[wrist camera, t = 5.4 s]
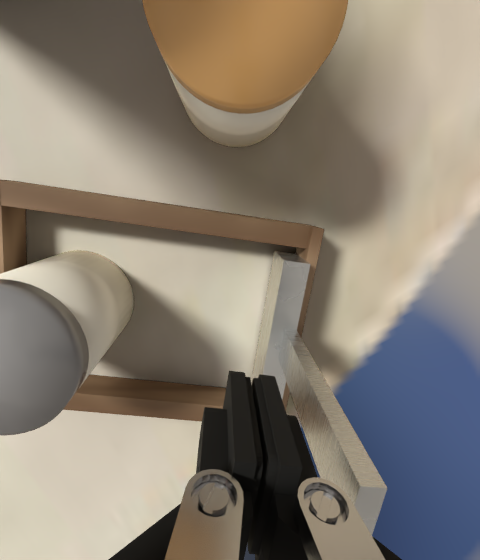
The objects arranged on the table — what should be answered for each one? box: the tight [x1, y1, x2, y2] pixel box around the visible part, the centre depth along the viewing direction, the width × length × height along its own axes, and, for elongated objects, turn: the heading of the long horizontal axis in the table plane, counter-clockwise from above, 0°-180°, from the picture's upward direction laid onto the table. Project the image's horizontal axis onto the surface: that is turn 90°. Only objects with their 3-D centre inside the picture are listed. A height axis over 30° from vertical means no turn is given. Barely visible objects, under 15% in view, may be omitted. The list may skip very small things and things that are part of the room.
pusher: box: [251, 251, 387, 535], centre depth 14 cm, size 9×1×12 cm, turn 172°
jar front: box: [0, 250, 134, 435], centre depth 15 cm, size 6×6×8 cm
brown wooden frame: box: [0, 180, 324, 421], centre depth 18 cm, size 13×17×2 cm
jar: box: [142, 0, 348, 147], centre depth 13 cm, size 6×6×8 cm
